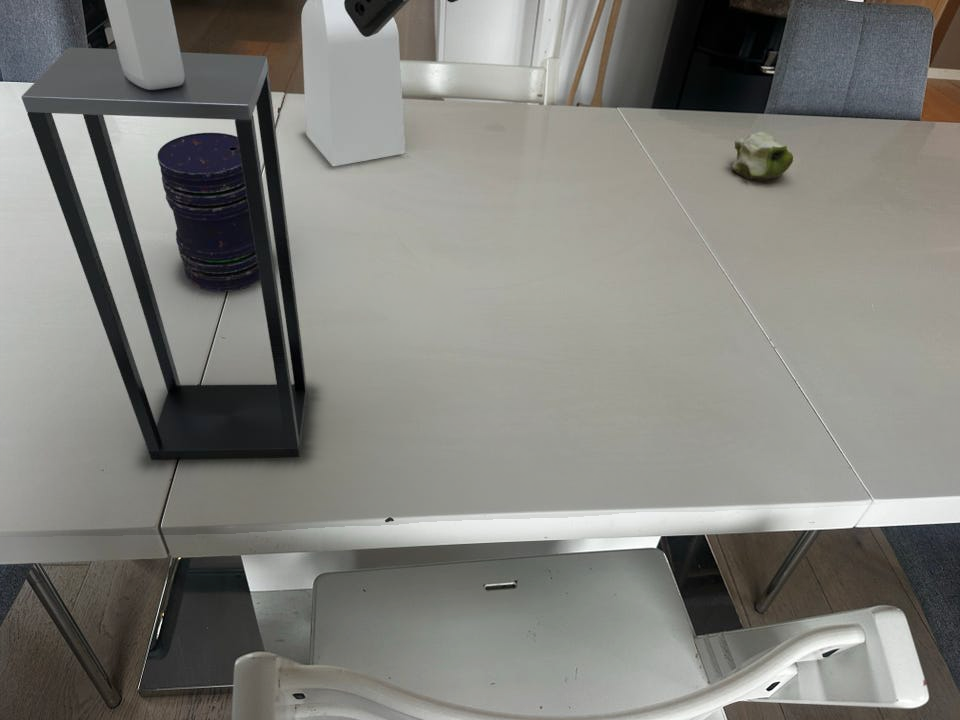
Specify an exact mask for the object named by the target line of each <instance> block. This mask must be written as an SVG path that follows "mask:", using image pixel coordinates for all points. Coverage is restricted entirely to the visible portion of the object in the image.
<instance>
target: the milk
mask: <svg viewBox="0 0 960 720" xmlns="http://www.w3.org/2000/svg"><path fill="white" fill-rule="evenodd" d="M344 1H345V0H306V1H305V3H304V5H303V8H302V11H301V16H300V17H301V18H300V19H301V45H302V46H301V47H302V65H303V87H304V88H303V90H304V111H305V113H304V114H305V116H304V117H305V135H306V137H307V138H308V140H310V142H311V143H312V144H313V145H314V147H316V148H317V150H318V151H319V152H320V154H322V155H323V157H324V158H325V159H326V160H327V161H328V163H329V164H330V166H332V167H338V166H344V165H350V164H355V163H359V162H366V161H372V160H377V159H381V158H388V157H394V156H398V155H403V154H406V144H405V143H406V141H405V125H404V124H405V123H404V108H403V107H404V106H403V105H404V104H403V90H402V89H403V87H402V69H401V54H400V52H401V51H400V35H399V29H398V25H397V23H396V20H395V18H394V17H395V16H394V17H393V18H392V19H391V20H390V21H389V22H388V23H387V24H386V25H385V26H384V27H383V28H382V29H381V30H380V31H379V32H378V33H377V34H374V35H372V36H369V37H365V36H363V35H362V34H361V33H360V32H359V30H358V29H357V27H356V25H355V24H354V22H353V21H352V19H351V18H350V16H349V15H348V13H347V12H346V10H345V6H344Z"/></svg>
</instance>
